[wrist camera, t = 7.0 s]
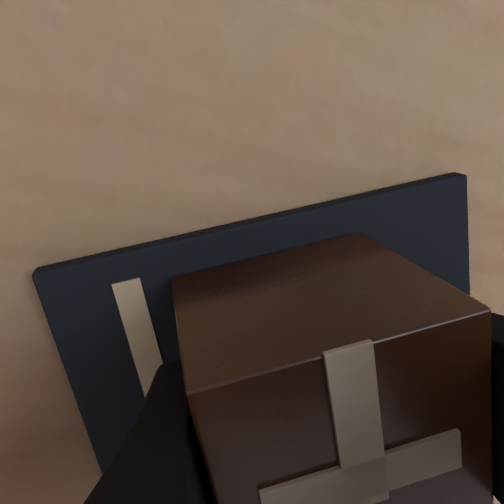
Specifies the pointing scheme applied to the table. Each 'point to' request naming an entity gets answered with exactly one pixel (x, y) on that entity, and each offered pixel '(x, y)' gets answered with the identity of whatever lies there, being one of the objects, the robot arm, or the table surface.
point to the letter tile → (337, 378)
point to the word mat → (210, 255)
